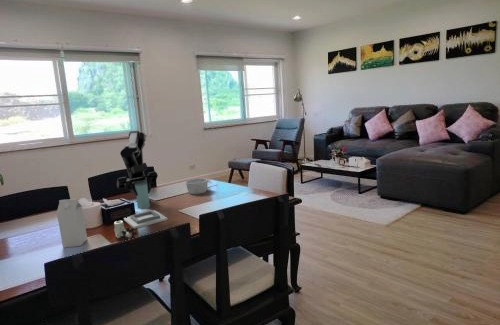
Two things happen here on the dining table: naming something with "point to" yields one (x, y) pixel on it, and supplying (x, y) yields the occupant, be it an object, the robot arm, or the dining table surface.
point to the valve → (123, 231)
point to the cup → (142, 195)
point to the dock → (145, 219)
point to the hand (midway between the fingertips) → (143, 194)
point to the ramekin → (197, 186)
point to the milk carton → (71, 223)
